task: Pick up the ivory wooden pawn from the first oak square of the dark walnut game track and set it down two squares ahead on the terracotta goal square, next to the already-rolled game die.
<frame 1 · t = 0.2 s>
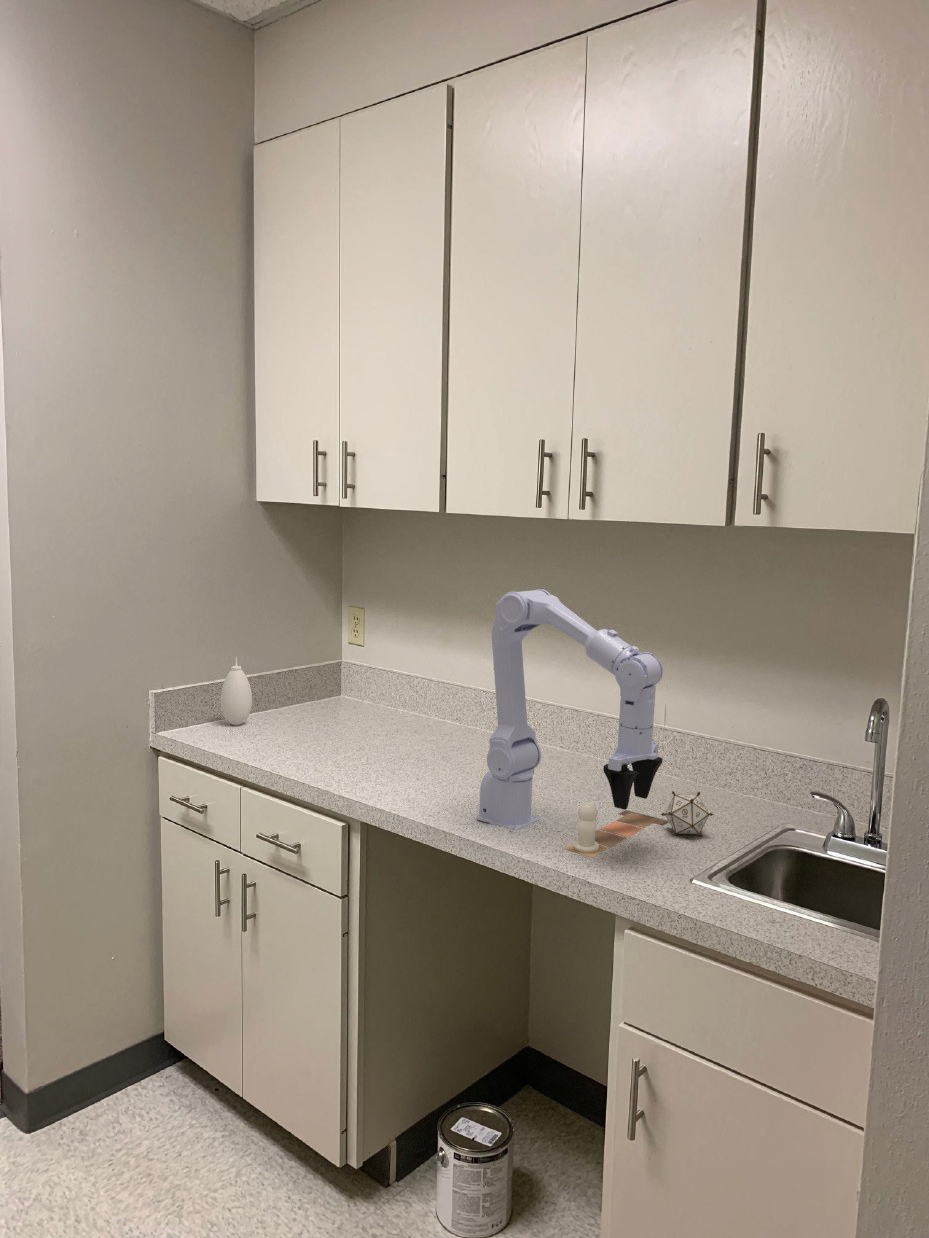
hand: (631, 802, 161), 10 cm above the worktop, fingers open, 7 cm apart
air blower bulb: (236, 725, 245), on the worktop
game die: (685, 836, 174), on the worktop
pawn: (585, 848, 165), resting on board
board: (612, 835, 172), on the worktop
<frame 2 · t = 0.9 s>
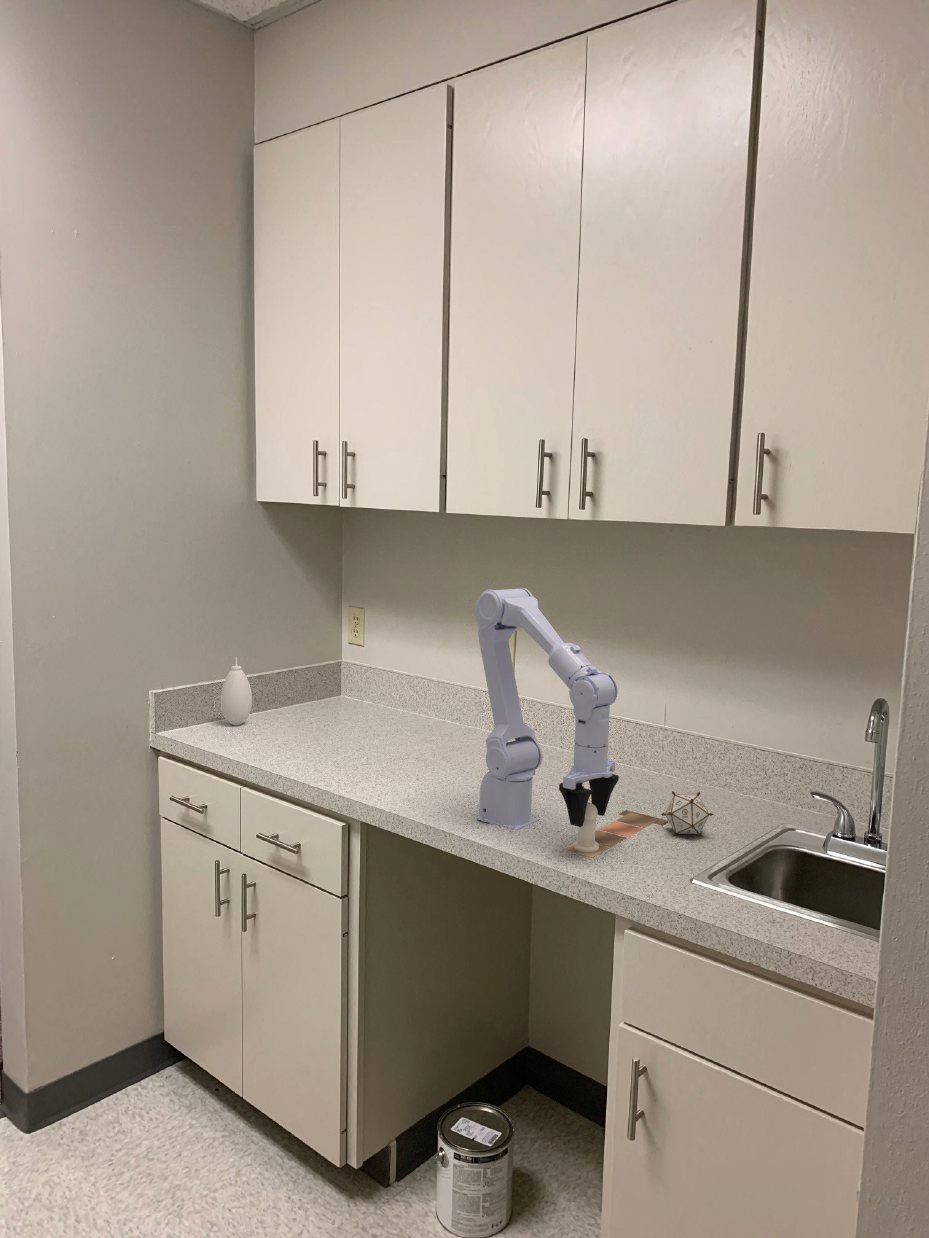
hand: (587, 819, 164), 6 cm above the worktop, fingers open, 7 cm apart
nothing on the worktop moved.
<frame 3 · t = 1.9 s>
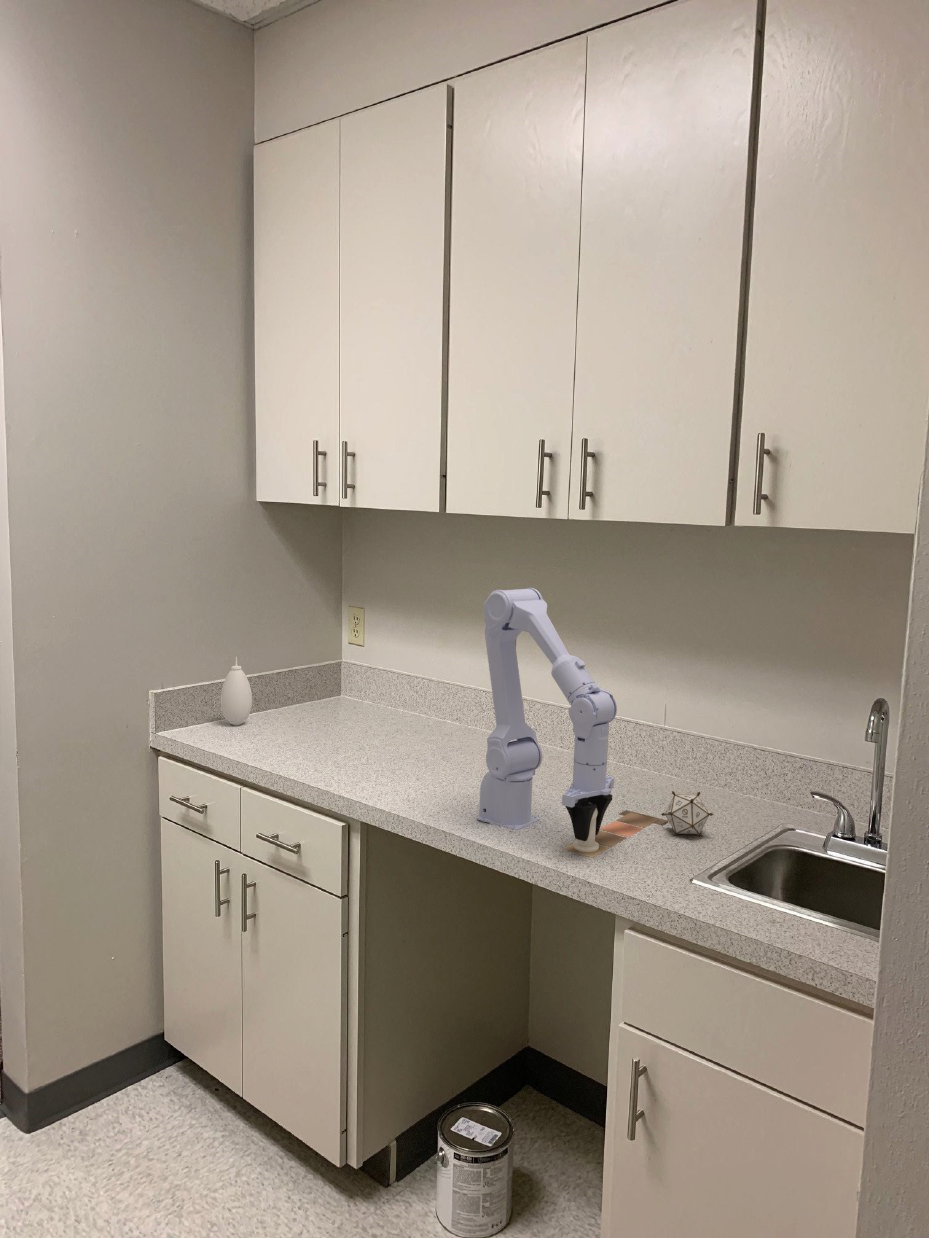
hand: (586, 836, 164), 3 cm above the worktop, fingers closed on pawn, 3 cm apart
pawn: (585, 848, 165), resting on board, touching gripper
everything else where it was.
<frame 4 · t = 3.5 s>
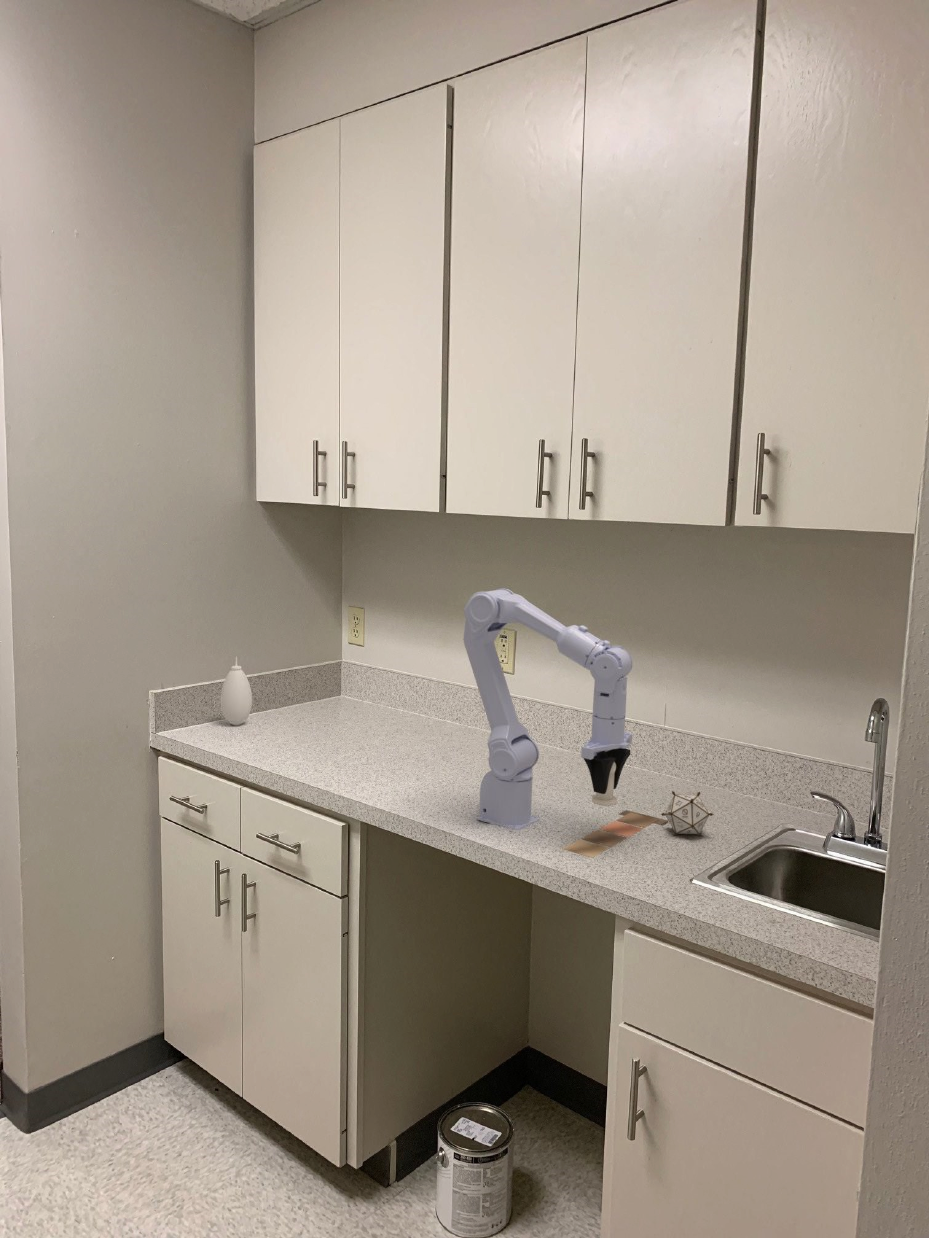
hand: (605, 790, 168), 10 cm above the worktop, fingers closed on pawn, 3 cm apart
pawn: (604, 801, 168), point 7 cm above the worktop, touching gripper
everything else where it was.
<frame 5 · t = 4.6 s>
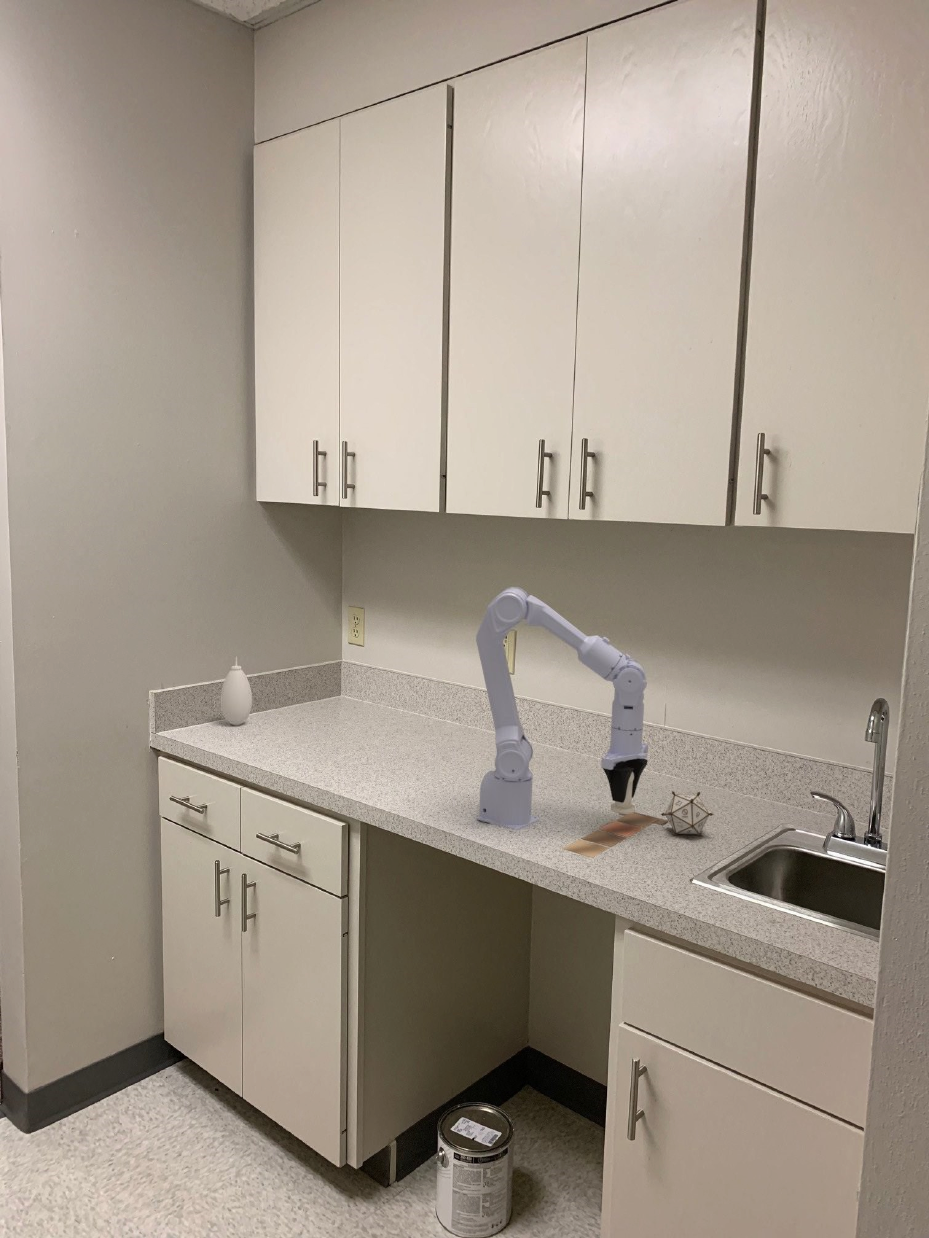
hand: (623, 798, 174), 6 cm above the worktop, fingers closed on pawn, 3 cm apart
pawn: (622, 810, 174), point 4 cm above the worktop, touching gripper
everything else where it was.
when the fingers open (4 cm above the worktop, at t = 5.4 s): pawn stays where it is, resting on board.
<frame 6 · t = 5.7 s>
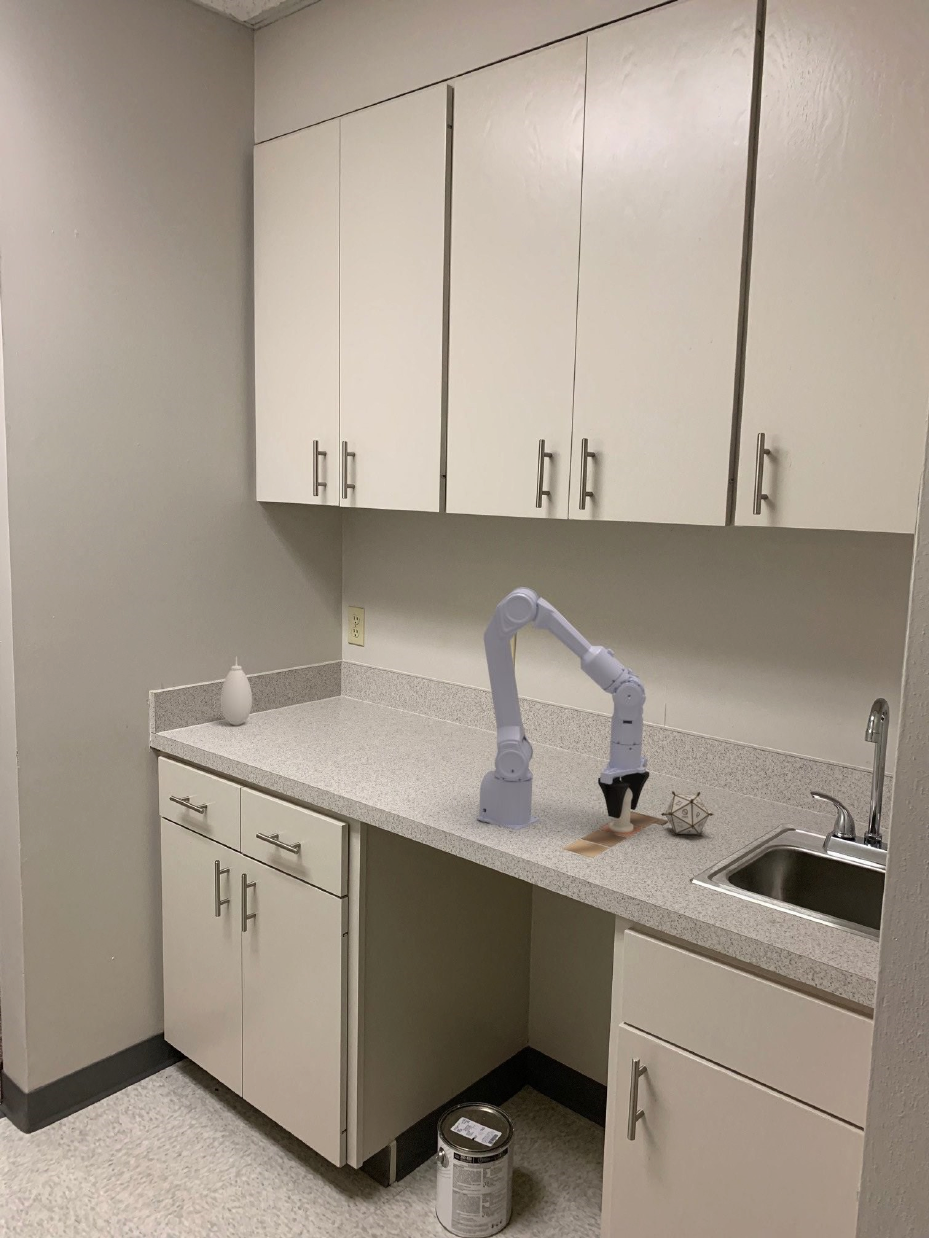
hand: (622, 812, 175), 4 cm above the worktop, fingers open, 6 cm apart
pawn: (621, 829, 175), resting on board
everything else where it was.
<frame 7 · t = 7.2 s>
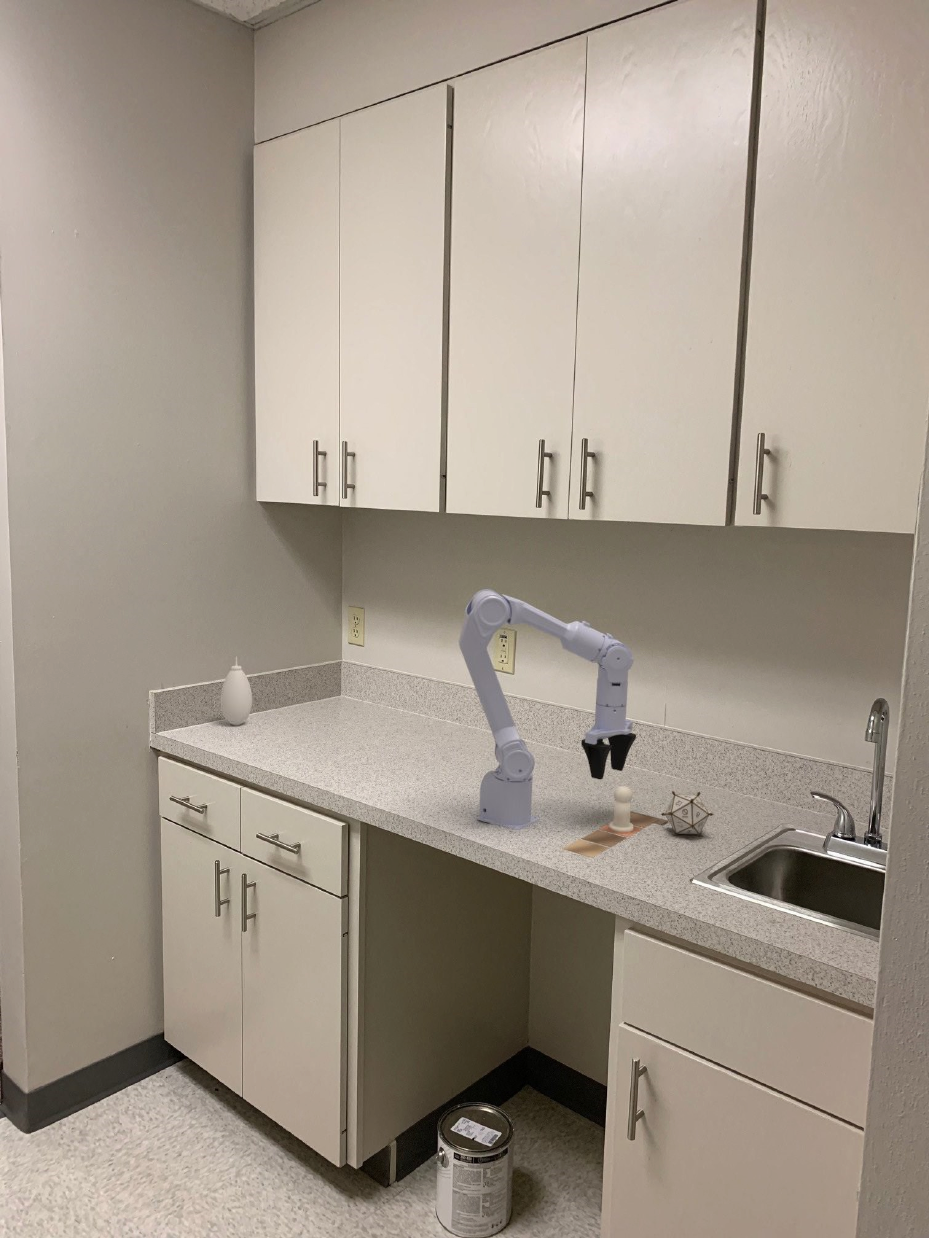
hand: (607, 773, 179), 9 cm above the worktop, fingers open, 7 cm apart
nothing on the worktop moved.
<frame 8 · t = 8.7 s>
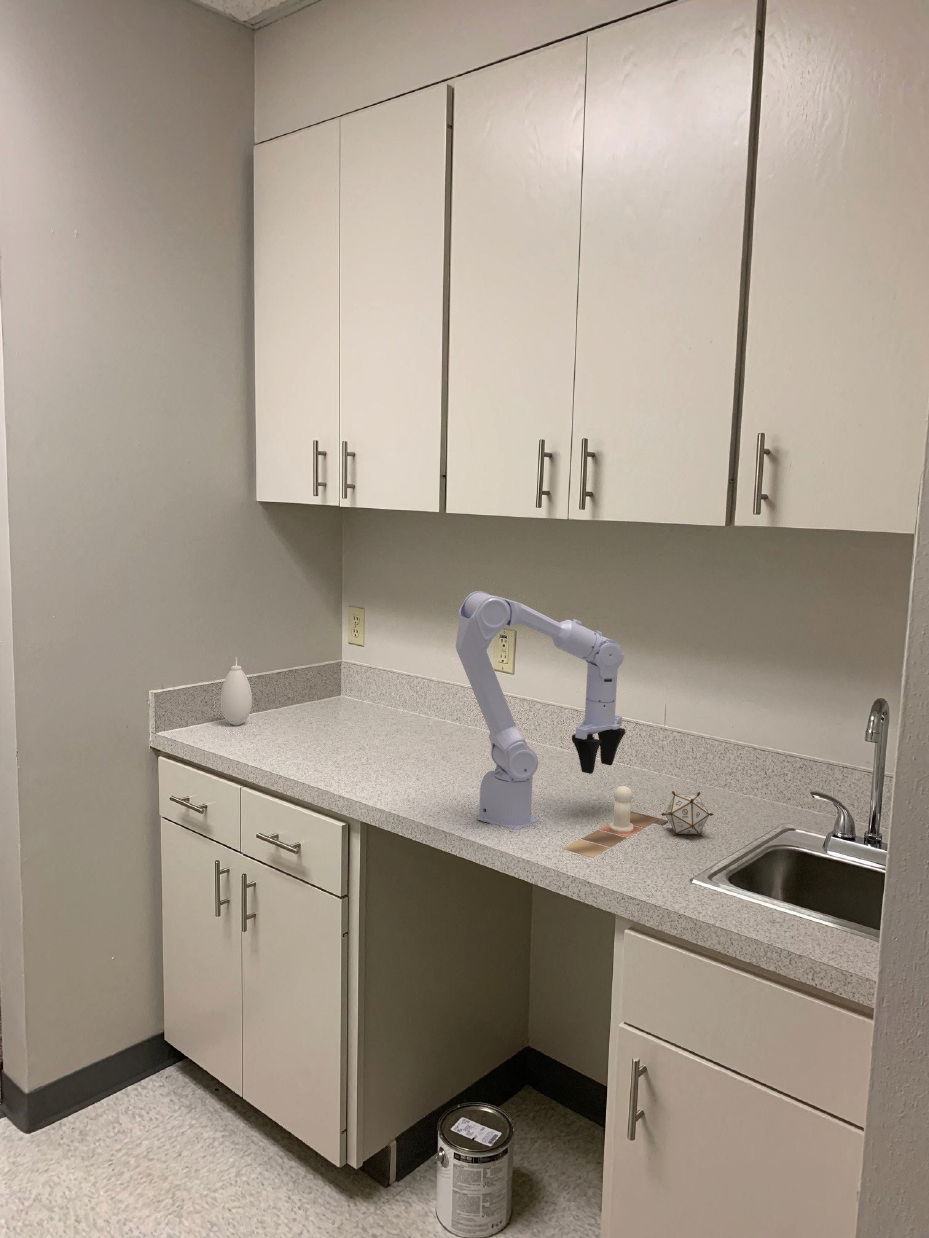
hand: (597, 768, 182), 9 cm above the worktop, fingers open, 7 cm apart
nothing on the worktop moved.
at the end: pawn 0.2 cm from the target spot on the board, point 0.4 cm above the board's base; pawn tilted 0°; the gripper is holding nothing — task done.
